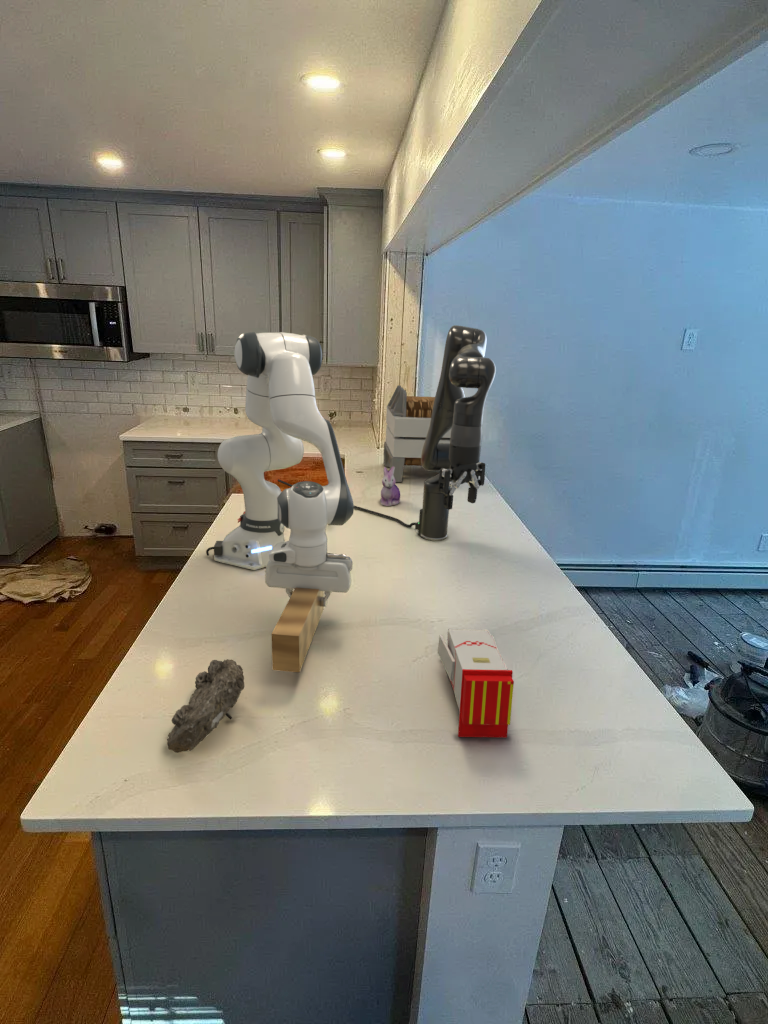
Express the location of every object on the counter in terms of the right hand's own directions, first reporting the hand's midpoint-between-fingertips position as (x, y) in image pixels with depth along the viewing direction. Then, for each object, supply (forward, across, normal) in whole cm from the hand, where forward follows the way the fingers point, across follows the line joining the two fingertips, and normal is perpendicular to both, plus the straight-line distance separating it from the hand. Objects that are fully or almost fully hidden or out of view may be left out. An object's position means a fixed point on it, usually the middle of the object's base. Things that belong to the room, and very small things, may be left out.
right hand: (459, 505), depth 142 cm
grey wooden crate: (+29, -83, -101) cm, 134 cm away
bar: (+26, +43, -6) cm, 50 cm away
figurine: (+29, -42, -75) cm, 90 cm away
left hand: (+22, +37, -13) cm, 45 cm away
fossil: (+29, +68, +3) cm, 74 cm away
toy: (+29, +23, +28) cm, 46 cm away
